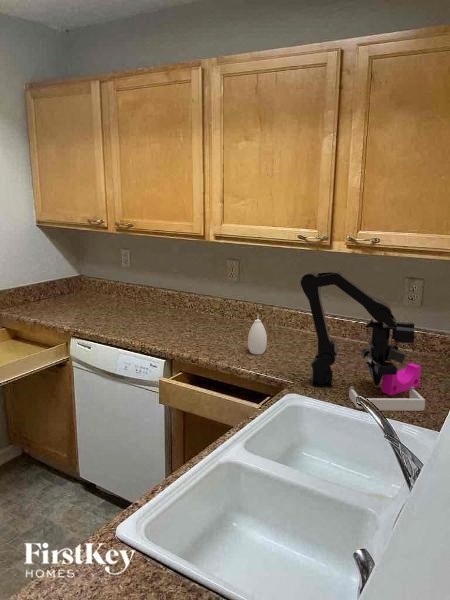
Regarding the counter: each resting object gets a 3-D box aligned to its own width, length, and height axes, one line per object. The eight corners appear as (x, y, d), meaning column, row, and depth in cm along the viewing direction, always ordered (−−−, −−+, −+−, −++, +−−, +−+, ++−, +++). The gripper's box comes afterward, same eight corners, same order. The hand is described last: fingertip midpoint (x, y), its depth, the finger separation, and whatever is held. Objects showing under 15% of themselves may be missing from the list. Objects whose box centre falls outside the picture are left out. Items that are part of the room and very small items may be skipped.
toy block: (403, 380, 168) (405, 361, 166) (419, 386, 162) (421, 366, 161) (375, 389, 160) (377, 368, 158) (390, 395, 155) (392, 374, 153)
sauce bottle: (250, 351, 198) (251, 310, 194) (268, 354, 195) (269, 312, 192) (245, 357, 191) (245, 314, 187) (263, 359, 188) (264, 316, 185)
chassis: (356, 410, 143) (357, 397, 142) (348, 398, 152) (349, 386, 151) (424, 410, 143) (425, 398, 143) (412, 398, 152) (413, 386, 152)
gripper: (416, 349, 144) (411, 396, 148) (393, 332, 163) (390, 375, 166) (380, 349, 144) (376, 396, 147) (362, 332, 162) (359, 374, 166)
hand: (376, 385), depth 157 cm, fingers closed
